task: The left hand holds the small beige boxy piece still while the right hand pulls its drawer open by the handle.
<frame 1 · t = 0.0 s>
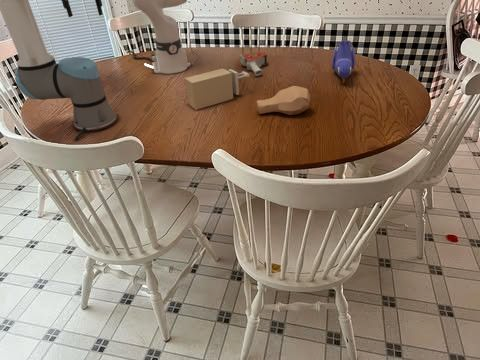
left hand: (85, 15, 157), 28 cm above the table, tool pointing down, fingers open, 13 cm apart
squash: (283, 112, 132), on the table
drawer: (224, 84, 143), point 5 cm above the table, slide at 2.0 cm
grey and red gadget: (253, 68, 172), on the table
toy: (342, 77, 157), on the table
beige boxy piece: (211, 101, 143), on the table
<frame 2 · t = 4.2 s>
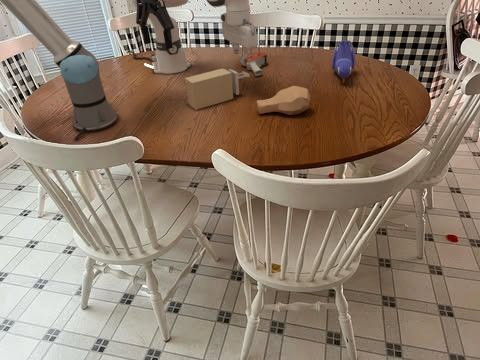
left hand: (158, 46, 139), 20 cm above the table, tool pointing down, fingers open, 13 cm apart
right hand: (240, 55, 140), 15 cm above the table, tool pointing down, fingers open, 5 cm apart
nothing on the table moved.
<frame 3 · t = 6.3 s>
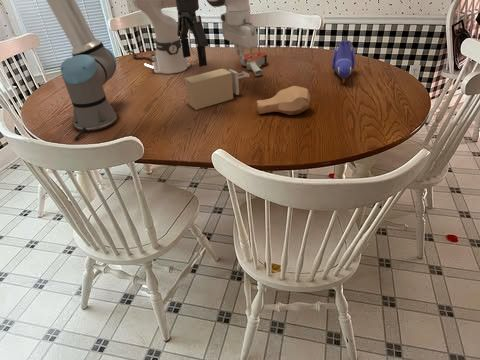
left hand: (194, 61, 131), 17 cm above the table, tool pointing down, fingers open, 13 cm apart
right hand: (240, 55, 140), 15 cm above the table, tool pointing down, fingers closed
nothing on the table moved.
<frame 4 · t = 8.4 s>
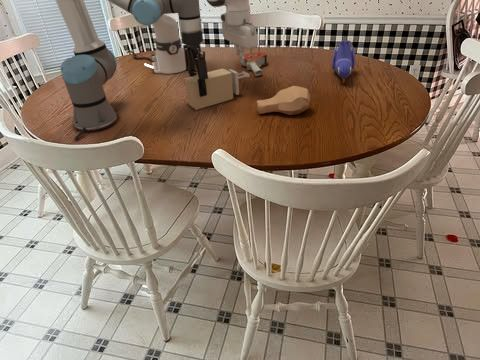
left hand: (199, 92, 139), 5 cm above the table, tool pointing down, fingers closed on beige boxy piece, 7 cm apart
right hand: (240, 55, 140), 15 cm above the table, tool pointing down, fingers closed
beige boxy piece: (211, 101, 143), on the table, touching left hand
everything else where it was.
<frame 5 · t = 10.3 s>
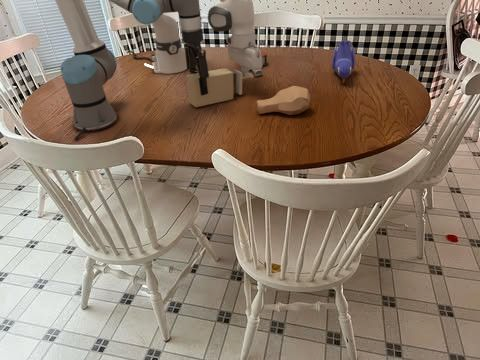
left hand: (200, 91, 139), 5 cm above the table, tool pointing down, fingers closed on beige boxy piece, 7 cm apart
right hand: (245, 75, 145), 7 cm above the table, tool pointing down, fingers closed, pressing on drawer
drawer: (228, 83, 144), point 5 cm above the table, slide at 3.3 cm, touching right hand
beige boxy piece: (211, 100, 143), point 1 cm above the table, touching left hand
everything else where it was.
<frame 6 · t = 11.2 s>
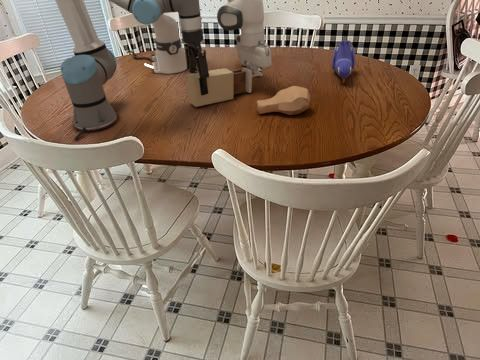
left hand: (200, 91, 139), 5 cm above the table, tool pointing down, fingers closed on beige boxy piece, 7 cm apart
right hand: (254, 73, 148), 7 cm above the table, tool pointing down, fingers closed
drawer: (237, 81, 146), point 5 cm above the table, slide at 7.9 cm, touching right hand
beige boxy piece: (211, 100, 143), point 1 cm above the table, touching left hand
everything else where it was.
when the left hand's fingers open (5 cm above the table, at t = 12.6 s): beige boxy piece stays where it is, on the table.
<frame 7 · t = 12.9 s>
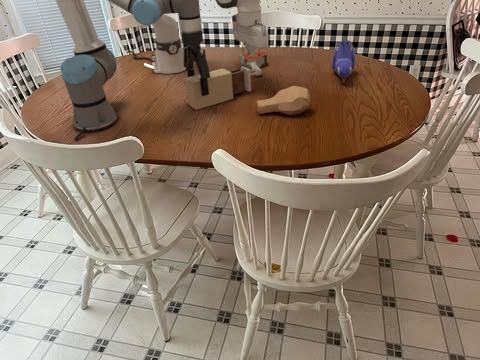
left hand: (198, 90, 138), 6 cm above the table, tool pointing down, fingers open, 10 cm apart
right hand: (250, 55, 143), 14 cm above the table, tool pointing down, fingers closed
drawer: (236, 81, 145), point 5 cm above the table, slide at 7.8 cm
beige boxy piece: (211, 101, 143), on the table
everything else where it was.
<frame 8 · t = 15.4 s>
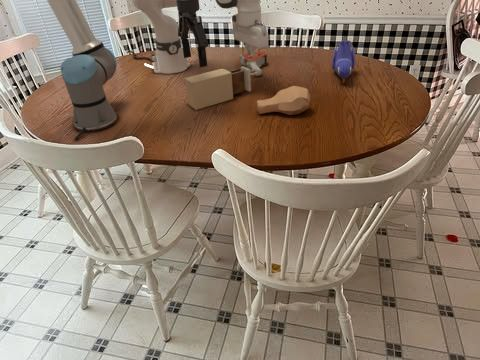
left hand: (195, 61, 131), 17 cm above the table, tool pointing down, fingers open, 13 cm apart
right hand: (250, 55, 143), 14 cm above the table, tool pointing down, fingers closed
nothing on the table moved.
at the end: drawer slide at 7.8 cm; beige boxy piece tilted 0°; beige boxy piece never tilted more than 5° during the clip; beige boxy piece moved 0.0 cm from its start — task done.
